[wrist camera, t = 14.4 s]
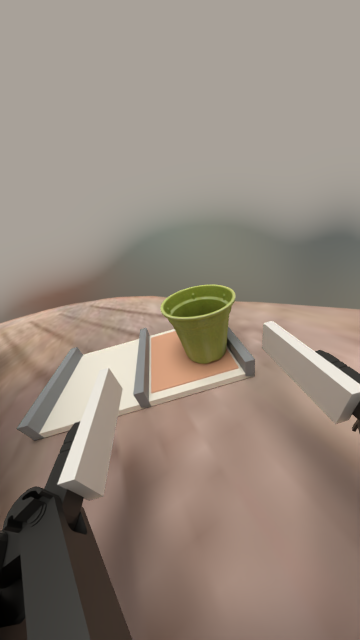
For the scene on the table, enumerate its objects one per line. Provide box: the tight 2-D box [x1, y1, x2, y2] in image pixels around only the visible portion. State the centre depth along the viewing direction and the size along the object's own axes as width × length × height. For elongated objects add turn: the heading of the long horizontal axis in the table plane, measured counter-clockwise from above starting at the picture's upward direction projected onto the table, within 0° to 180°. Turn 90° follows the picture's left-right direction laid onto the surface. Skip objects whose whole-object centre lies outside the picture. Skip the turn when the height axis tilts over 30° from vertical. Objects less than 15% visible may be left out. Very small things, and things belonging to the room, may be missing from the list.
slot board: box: [17, 327, 255, 440], centre depth 25 cm, size 28×14×3 cm, turn 100°
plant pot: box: [161, 285, 235, 364], centre depth 22 cm, size 9×9×9 cm
